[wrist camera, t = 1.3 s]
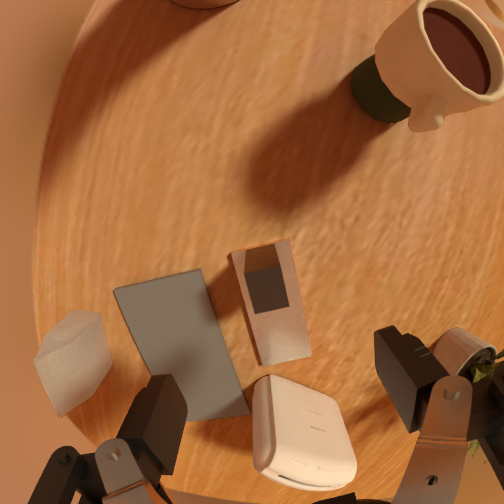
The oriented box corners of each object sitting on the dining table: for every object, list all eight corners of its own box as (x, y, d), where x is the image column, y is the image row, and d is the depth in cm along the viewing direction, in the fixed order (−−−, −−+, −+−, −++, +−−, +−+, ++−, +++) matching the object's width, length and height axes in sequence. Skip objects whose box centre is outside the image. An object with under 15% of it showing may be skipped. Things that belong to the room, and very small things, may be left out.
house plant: (413, 412, 31) (459, 497, 15) (377, 360, 28) (440, 474, 12) (489, 347, 28) (554, 412, 13) (470, 279, 26) (569, 346, 10)
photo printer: (341, 397, 30) (370, 481, 18) (319, 419, 31) (337, 501, 19) (268, 366, 28) (274, 464, 16) (246, 392, 29) (243, 485, 17)
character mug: (397, 160, 23) (500, 159, 10) (327, 126, 22) (398, 84, 10) (422, 66, 20) (507, 24, 8) (359, 31, 20) (422, -42, 7)
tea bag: (100, 313, 27) (50, 366, 17) (112, 364, 29) (75, 423, 19) (73, 309, 27) (21, 356, 17) (86, 359, 29) (46, 412, 19)
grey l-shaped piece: (231, 250, 25) (223, 278, 19) (288, 237, 25) (300, 260, 18) (262, 361, 28) (264, 407, 22) (310, 351, 28) (323, 395, 21)
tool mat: (115, 288, 26) (113, 290, 25) (200, 268, 25) (199, 270, 25) (179, 418, 31) (178, 421, 30) (250, 411, 30) (250, 414, 29)
